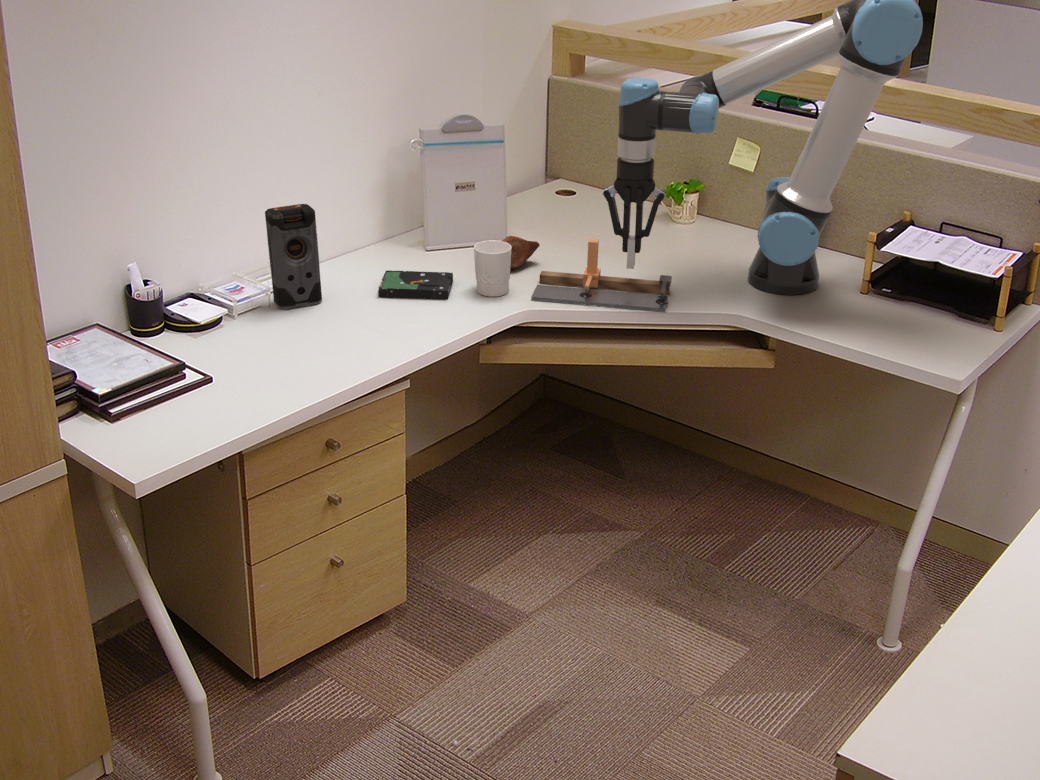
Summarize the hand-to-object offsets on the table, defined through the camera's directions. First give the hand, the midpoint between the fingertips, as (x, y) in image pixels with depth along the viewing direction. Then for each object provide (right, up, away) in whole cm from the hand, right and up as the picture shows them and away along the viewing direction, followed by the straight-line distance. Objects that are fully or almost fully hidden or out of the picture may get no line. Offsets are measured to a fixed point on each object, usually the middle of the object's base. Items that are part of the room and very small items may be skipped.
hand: (630, 266), depth 230 cm
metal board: (-7, -7, -3) cm, 11 cm away
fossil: (-26, +1, +13) cm, 29 cm away
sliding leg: (-9, -5, +1) cm, 10 cm away
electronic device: (-70, -8, -6) cm, 70 cm away
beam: (-6, -6, 0) cm, 8 cm away
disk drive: (-46, -6, +1) cm, 46 cm away
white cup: (-30, -5, 0) cm, 30 cm away
